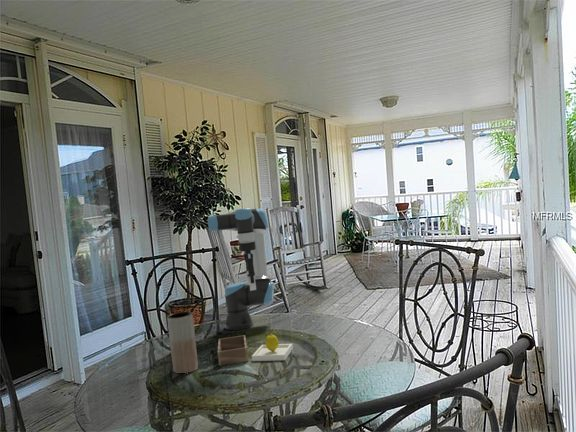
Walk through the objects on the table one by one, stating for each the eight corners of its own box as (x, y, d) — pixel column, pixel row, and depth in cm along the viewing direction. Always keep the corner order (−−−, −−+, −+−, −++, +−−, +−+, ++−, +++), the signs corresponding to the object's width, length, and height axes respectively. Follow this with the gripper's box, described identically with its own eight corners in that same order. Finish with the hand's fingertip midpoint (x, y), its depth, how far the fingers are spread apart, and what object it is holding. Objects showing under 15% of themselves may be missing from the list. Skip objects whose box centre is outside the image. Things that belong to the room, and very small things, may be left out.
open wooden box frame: (220, 351, 199) (218, 339, 199) (246, 346, 201) (245, 335, 201) (219, 365, 180) (217, 352, 180) (248, 360, 181) (246, 347, 181)
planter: (171, 368, 182) (165, 314, 182) (195, 363, 186) (189, 310, 186) (175, 376, 173) (168, 319, 173) (200, 370, 177) (194, 314, 177)
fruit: (264, 354, 184) (262, 335, 184) (269, 349, 190) (267, 331, 189) (276, 354, 182) (274, 335, 182) (281, 349, 188) (279, 331, 187)
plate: (262, 349, 194) (261, 344, 194) (293, 348, 191) (292, 343, 191) (252, 361, 181) (251, 355, 181) (284, 360, 177) (284, 354, 177)
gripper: (237, 240, 214) (242, 283, 215) (239, 245, 189) (245, 294, 190) (252, 238, 215) (257, 281, 216) (257, 243, 191) (262, 291, 192)
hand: (252, 287), depth 203 cm, fingers open, 13 cm apart
